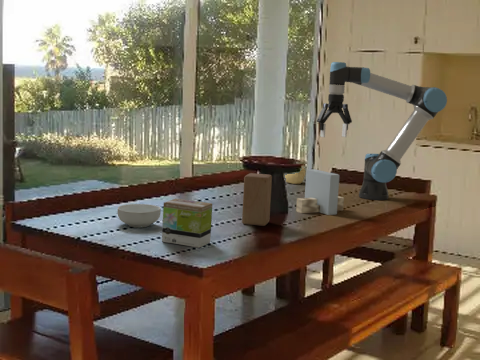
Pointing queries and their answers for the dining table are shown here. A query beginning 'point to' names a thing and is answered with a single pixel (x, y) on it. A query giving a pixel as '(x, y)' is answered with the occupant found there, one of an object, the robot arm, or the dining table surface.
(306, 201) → the maple rail
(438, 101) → the robot arm
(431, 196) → the dining table surface
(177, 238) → the tea box
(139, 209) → the cereal bowl
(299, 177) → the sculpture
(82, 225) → the dining table surface
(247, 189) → the wooden block
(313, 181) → the grey board
